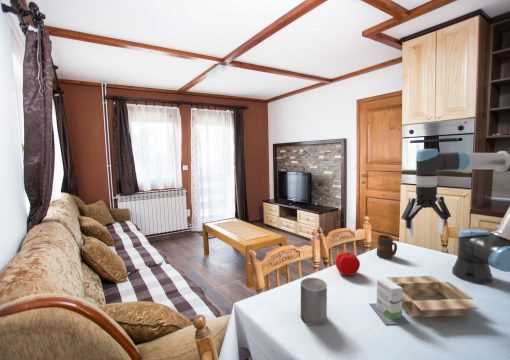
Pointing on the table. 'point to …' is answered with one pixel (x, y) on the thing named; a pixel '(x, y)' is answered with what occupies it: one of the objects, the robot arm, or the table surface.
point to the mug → (386, 247)
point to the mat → (386, 319)
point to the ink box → (389, 298)
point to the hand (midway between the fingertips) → (425, 234)
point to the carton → (430, 286)
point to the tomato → (347, 263)
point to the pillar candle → (313, 301)
